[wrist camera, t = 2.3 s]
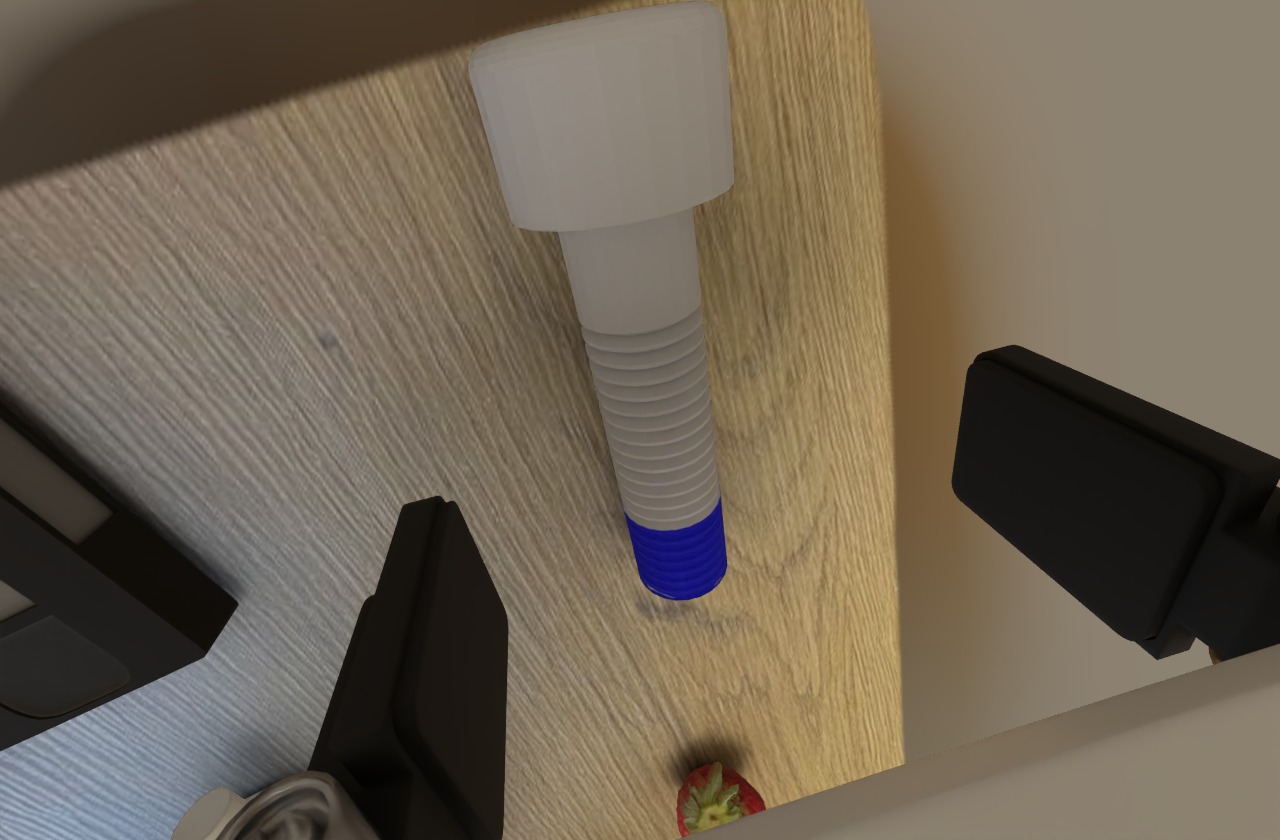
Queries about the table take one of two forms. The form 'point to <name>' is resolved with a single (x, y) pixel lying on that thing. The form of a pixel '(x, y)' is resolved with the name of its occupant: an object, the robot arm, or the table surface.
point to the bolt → (629, 242)
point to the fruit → (714, 799)
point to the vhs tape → (85, 592)
